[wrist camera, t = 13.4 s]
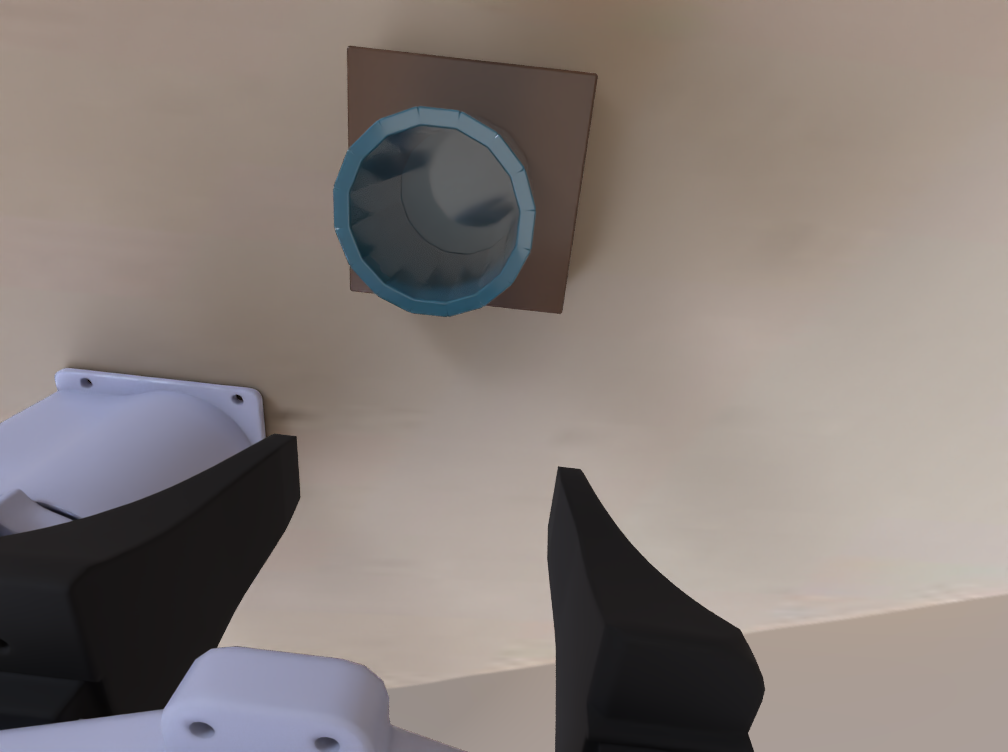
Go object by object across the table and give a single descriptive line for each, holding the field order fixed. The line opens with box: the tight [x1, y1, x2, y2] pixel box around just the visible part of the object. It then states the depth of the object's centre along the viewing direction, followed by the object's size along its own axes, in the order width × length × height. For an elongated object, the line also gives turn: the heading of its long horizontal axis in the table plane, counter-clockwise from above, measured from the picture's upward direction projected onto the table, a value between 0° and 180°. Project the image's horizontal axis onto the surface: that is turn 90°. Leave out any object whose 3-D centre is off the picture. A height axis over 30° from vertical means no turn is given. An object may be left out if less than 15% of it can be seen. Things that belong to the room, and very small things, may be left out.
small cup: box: [333, 106, 536, 317], centre depth 16 cm, size 5×5×6 cm
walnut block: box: [347, 46, 598, 314], centre depth 20 cm, size 8×8×3 cm
